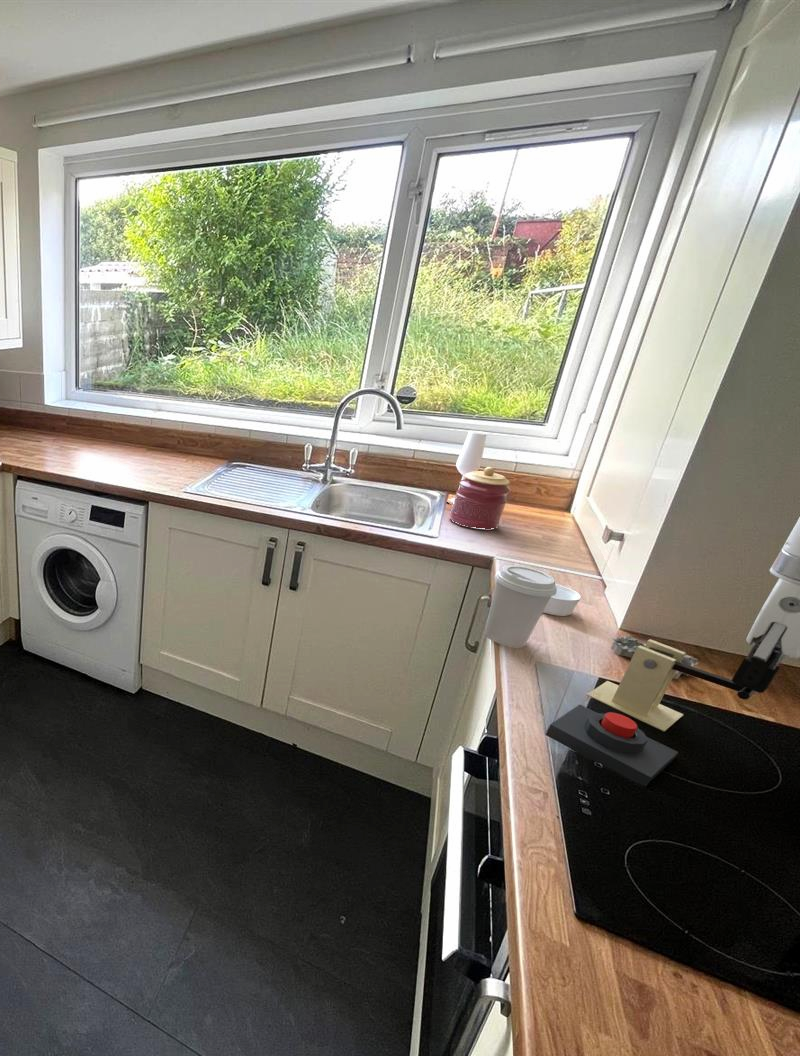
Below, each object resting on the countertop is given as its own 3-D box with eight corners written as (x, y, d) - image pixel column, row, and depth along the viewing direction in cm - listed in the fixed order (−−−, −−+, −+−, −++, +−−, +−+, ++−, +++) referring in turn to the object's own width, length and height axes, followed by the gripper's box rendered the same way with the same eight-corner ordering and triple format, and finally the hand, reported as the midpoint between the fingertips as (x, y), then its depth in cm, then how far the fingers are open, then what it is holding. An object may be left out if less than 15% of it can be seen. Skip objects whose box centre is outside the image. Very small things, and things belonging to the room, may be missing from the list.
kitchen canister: (442, 521, 176) (458, 465, 169) (455, 512, 185) (472, 458, 178) (491, 534, 168) (510, 476, 161) (503, 524, 176) (522, 468, 169)
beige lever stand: (680, 720, 93) (714, 659, 89) (661, 737, 89) (695, 673, 85) (604, 686, 101) (631, 628, 96) (584, 700, 97) (611, 640, 93)
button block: (672, 763, 84) (684, 742, 83) (644, 789, 79) (656, 767, 78) (574, 715, 94) (584, 694, 92) (545, 735, 89) (554, 714, 87)
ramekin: (528, 611, 125) (535, 594, 124) (520, 594, 133) (526, 577, 131) (579, 622, 122) (586, 603, 120) (567, 603, 129) (574, 586, 128)
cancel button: (636, 733, 84) (641, 723, 84) (626, 741, 83) (631, 732, 82) (606, 718, 87) (611, 709, 87) (596, 726, 86) (600, 716, 85)
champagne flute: (464, 501, 196) (486, 431, 186) (470, 508, 190) (493, 435, 180) (442, 499, 197) (462, 429, 188) (448, 505, 191) (469, 433, 182)
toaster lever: (757, 694, 84) (763, 680, 83) (746, 704, 82) (752, 690, 81) (649, 657, 94) (653, 644, 93) (636, 666, 92) (641, 653, 91)
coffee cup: (463, 628, 118) (486, 562, 112) (511, 631, 118) (536, 564, 112) (493, 655, 109) (519, 584, 103) (544, 658, 109) (574, 587, 103)
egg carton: (694, 680, 104) (705, 661, 102) (665, 686, 102) (676, 667, 100) (628, 647, 113) (637, 629, 112) (600, 652, 111) (609, 634, 109)
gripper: (848, 595, 69) (770, 718, 77) (874, 571, 76) (800, 685, 84) (758, 570, 75) (694, 686, 82) (790, 550, 82) (728, 658, 90)
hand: (748, 685), depth 83 cm, fingers closed
